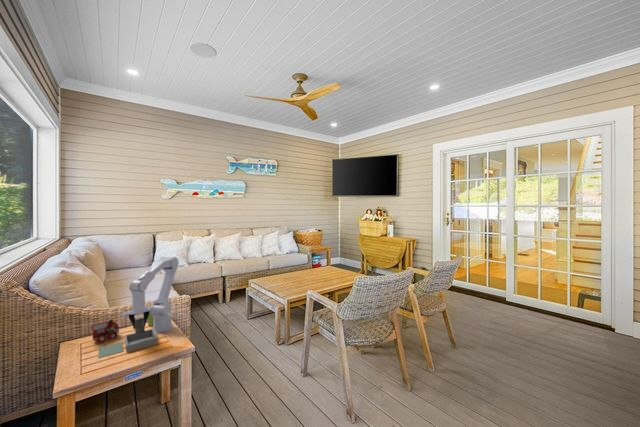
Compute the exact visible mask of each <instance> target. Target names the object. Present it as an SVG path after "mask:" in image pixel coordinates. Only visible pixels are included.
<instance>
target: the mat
mask: <svg viewBox="0 0 640 427" xmlns="http://www.w3.org/2000/svg"><path fill="white" fill-rule="evenodd" d="M121 353H124V346H123V342H121V341H120V342H118V343H113V344H109V345H106V346H102V347H98V353H97V354H98V356H97V358H98V359H100V358H105V357H108V356H112V355H116V354H121Z"/></svg>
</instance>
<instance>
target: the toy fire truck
mask: <svg viewBox="0 0 640 427" xmlns="http://www.w3.org/2000/svg"><path fill="white" fill-rule="evenodd" d="M90 327H91V331H92V341H96V343H98V344H102V343H104V342H106V340H107V338H108V340H111V341H112V340H115V339H116V338H117V337H118V334H119V333H120V327H119V324H117V323H116V322H115V321H114V320H113V319H109V320H108V321H106V320H105V321H102V322H97V323H93V324H92V325H91V326H90Z"/></svg>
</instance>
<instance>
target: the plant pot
mask: <svg viewBox="0 0 640 427" xmlns="http://www.w3.org/2000/svg"><path fill="white" fill-rule="evenodd" d="M147 324H148V326H149V327H153V317H152V315H151V314H150V312H149V316H148V318H147Z"/></svg>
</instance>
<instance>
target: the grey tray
mask: <svg viewBox="0 0 640 427" xmlns="http://www.w3.org/2000/svg"><path fill="white" fill-rule="evenodd" d="M153 329H154V328H150V329H146V330H145V333H140V334H135V332H133V333H130V334H129V333H128V334H125V335H124V344H125V352H126V353H127V352H133V351H135V350H140V349H143V348H146V347H151V346H155V345H157V344H158V337H157V335H156V334H155V332H154V330H153Z"/></svg>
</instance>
